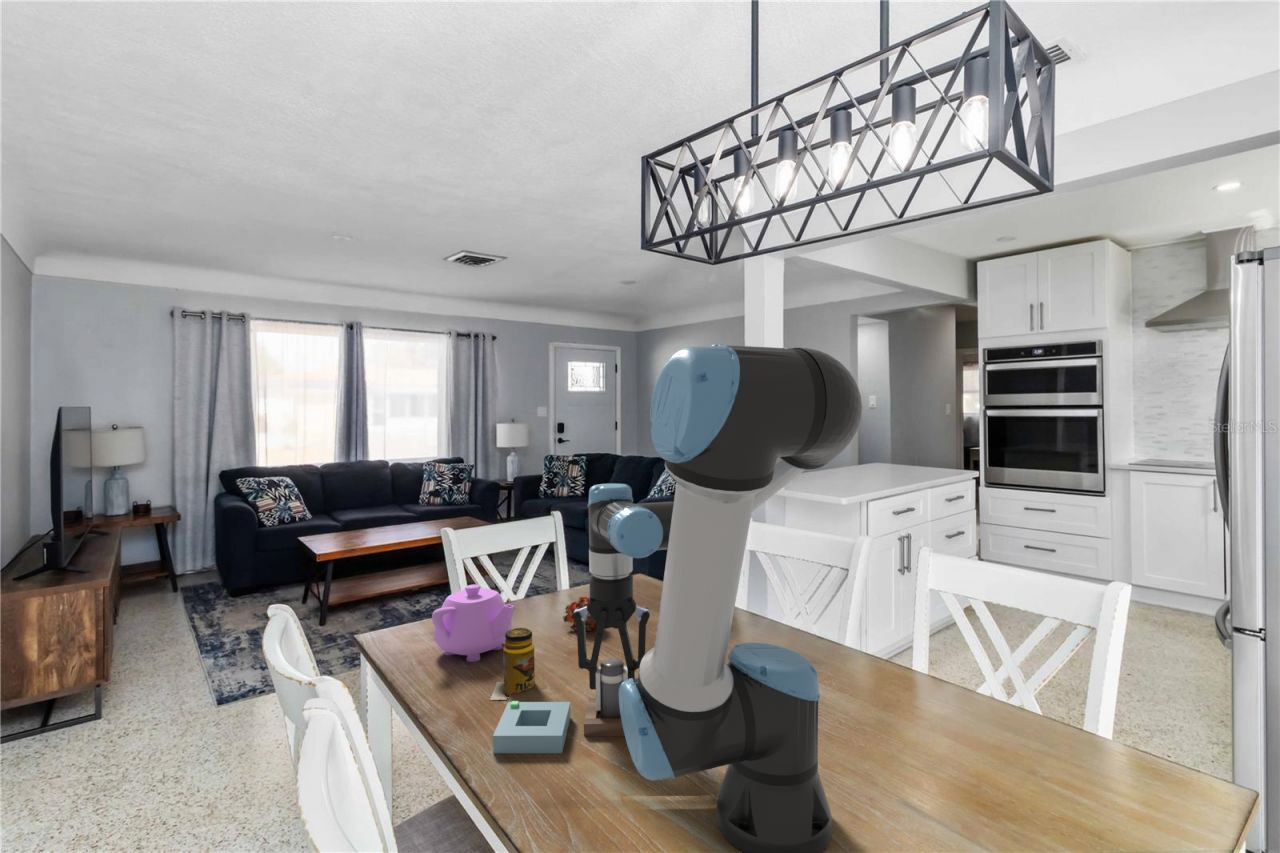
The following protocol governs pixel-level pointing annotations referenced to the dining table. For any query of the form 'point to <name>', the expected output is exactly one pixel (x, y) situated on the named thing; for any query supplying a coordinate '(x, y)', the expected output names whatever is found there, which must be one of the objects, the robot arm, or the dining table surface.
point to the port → (532, 727)
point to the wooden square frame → (600, 723)
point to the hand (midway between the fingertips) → (612, 706)
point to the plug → (611, 687)
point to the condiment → (516, 664)
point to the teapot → (472, 622)
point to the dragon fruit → (580, 604)
